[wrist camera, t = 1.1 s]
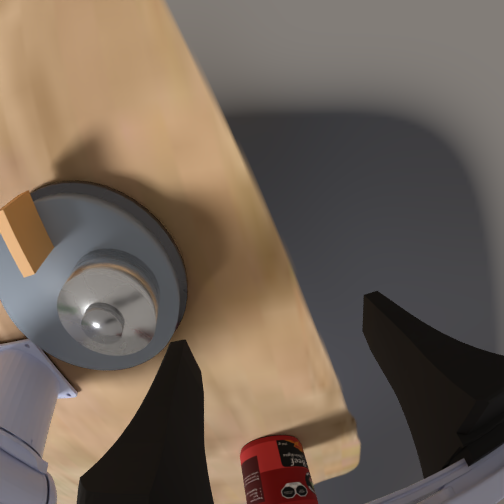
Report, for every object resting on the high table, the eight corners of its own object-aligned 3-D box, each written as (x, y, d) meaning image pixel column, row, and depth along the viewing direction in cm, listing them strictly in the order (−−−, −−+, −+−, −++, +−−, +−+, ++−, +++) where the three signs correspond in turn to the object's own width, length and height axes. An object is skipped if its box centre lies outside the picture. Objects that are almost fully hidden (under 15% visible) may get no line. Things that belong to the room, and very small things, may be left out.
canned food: (306, 447, 37) (326, 516, 27) (252, 463, 38) (264, 531, 28) (291, 426, 33) (312, 508, 24) (229, 445, 34) (240, 525, 24)
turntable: (206, 341, 23) (208, 384, 20) (60, 368, 23) (48, 405, 20) (129, 145, 16) (108, 162, 12) (-32, 220, 16) (-64, 249, 12)
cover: (97, 332, 20) (86, 370, 17) (56, 262, 17) (34, 296, 14) (173, 315, 20) (171, 355, 17) (138, 236, 17) (125, 270, 14)
